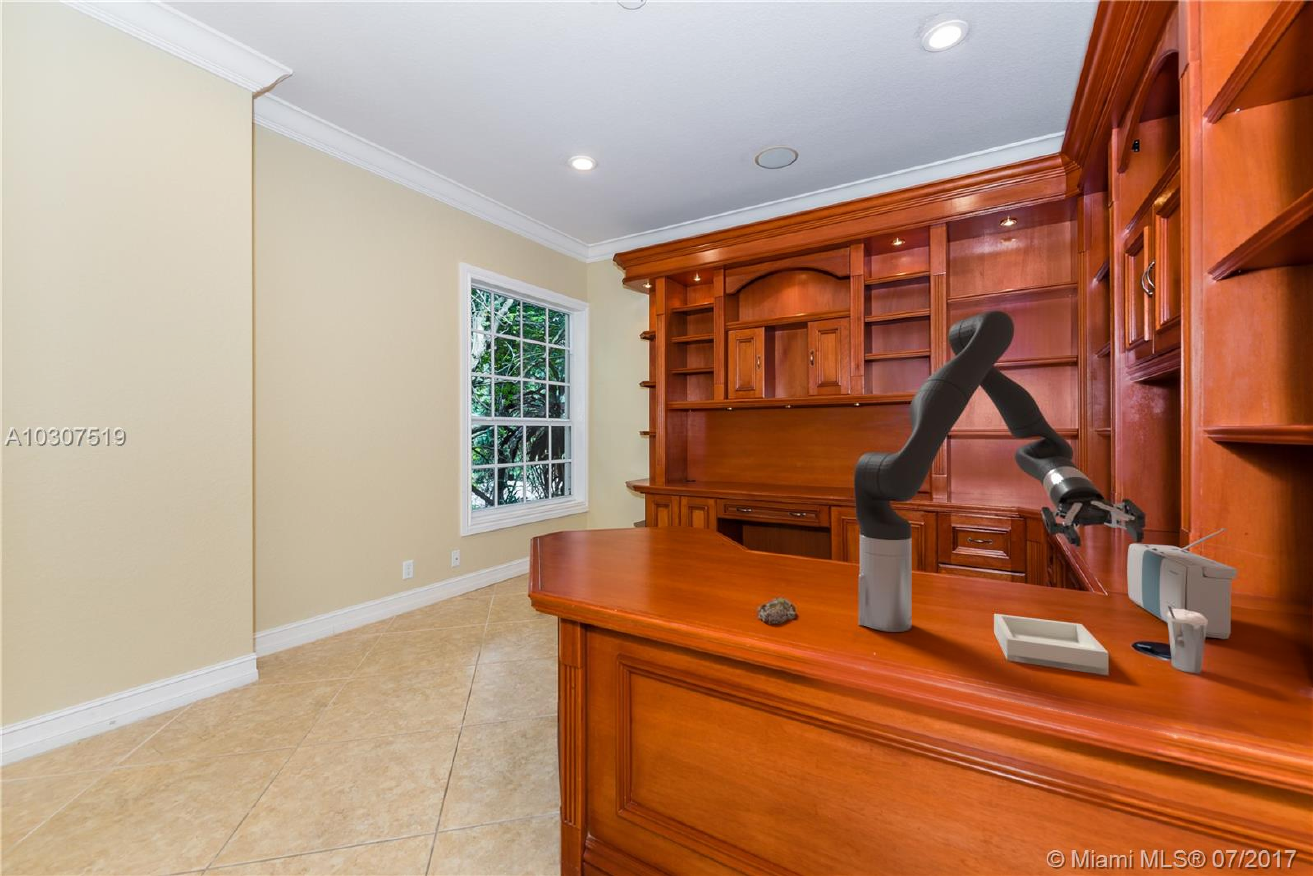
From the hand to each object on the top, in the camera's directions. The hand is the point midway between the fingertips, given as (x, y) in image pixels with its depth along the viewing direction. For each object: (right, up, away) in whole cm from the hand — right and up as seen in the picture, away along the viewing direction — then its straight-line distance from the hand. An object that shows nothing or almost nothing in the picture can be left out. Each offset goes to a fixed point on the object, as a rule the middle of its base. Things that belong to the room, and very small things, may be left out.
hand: (1108, 540), depth 91 cm
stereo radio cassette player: (+24, -18, +12) cm, 32 cm away
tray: (-13, -18, -2) cm, 22 cm away
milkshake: (+4, -19, -9) cm, 21 cm away
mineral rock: (-54, -19, +16) cm, 60 cm away
